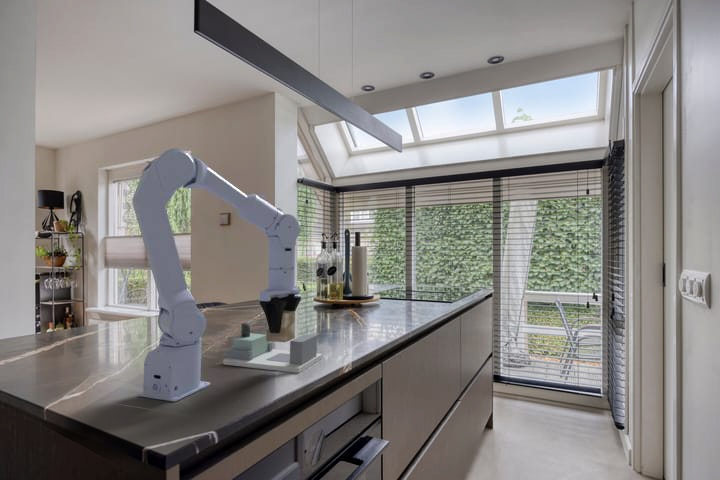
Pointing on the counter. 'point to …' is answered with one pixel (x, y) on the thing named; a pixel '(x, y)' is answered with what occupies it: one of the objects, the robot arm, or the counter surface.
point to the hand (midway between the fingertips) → (280, 330)
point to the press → (279, 356)
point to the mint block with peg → (250, 341)
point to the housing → (283, 328)
